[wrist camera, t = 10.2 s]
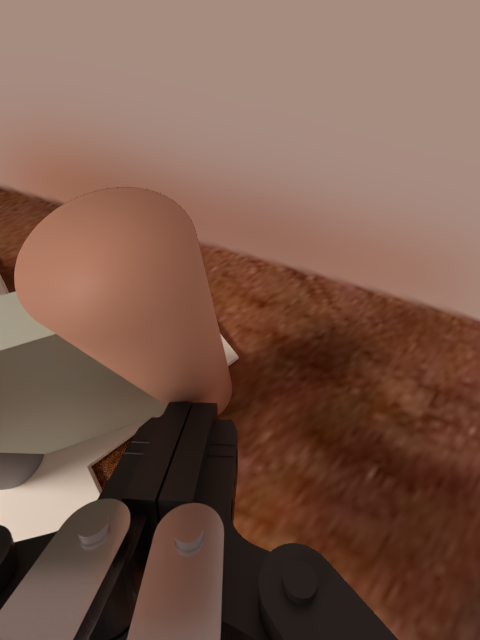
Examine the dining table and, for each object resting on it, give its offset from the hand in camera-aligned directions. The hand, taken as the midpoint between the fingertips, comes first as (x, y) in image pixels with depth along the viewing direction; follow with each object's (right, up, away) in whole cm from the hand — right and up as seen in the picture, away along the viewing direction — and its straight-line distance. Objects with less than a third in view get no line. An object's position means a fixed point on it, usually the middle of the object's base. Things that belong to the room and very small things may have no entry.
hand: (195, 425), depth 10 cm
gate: (-3, -1, +4) cm, 5 cm away
